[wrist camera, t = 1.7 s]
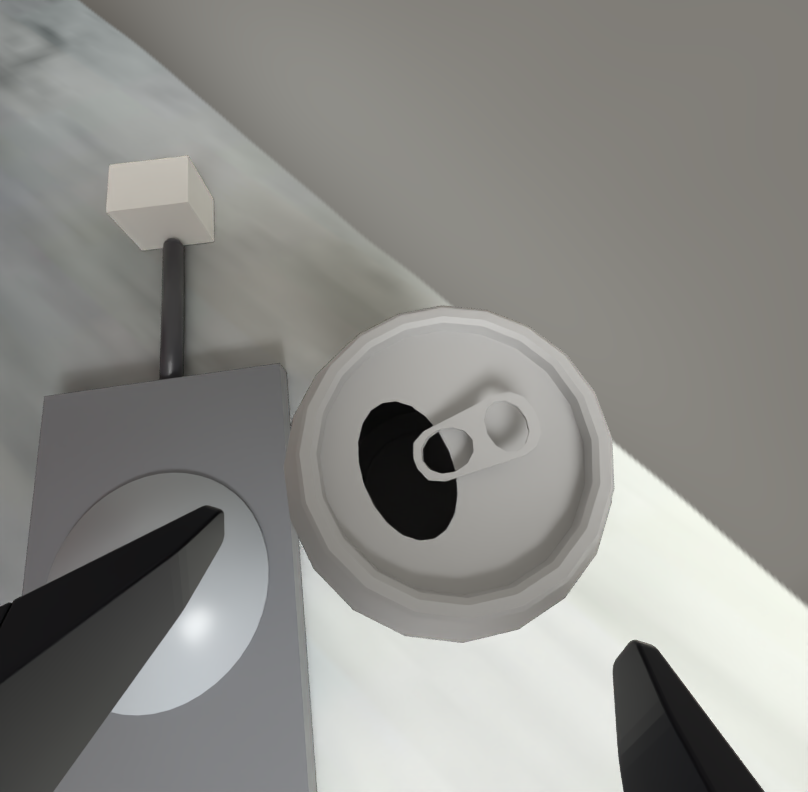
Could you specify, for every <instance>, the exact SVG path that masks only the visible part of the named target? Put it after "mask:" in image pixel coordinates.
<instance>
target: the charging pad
mask: <svg viewBox="0 0 808 792" xmlns="http://www.w3.org/2000/svg"><path fill="white" fill-rule="evenodd" d="M106 213H107V214H108V215H109V216H110V217H111V218H112V219H113V220H114V221H115V222H116V223H117V224H118V226H119V227H120V228H121V229H122V230H123V231H124V232H125V233H126V234H127V235H128V236H129V237H130V238H131V239H132V240H133V241H134V242H135V243H136V245H137V246H138V247H139V248H140V249H141V250H142V251H144V250H152V249H160V248H163V270H162V309H161V348H160V380H156V381H149V382H142V383H135V384H128V385H121V386H114V387H107V388H100V389H92V390H85V391H78V392H71V393H64V394H57V395H50V396H44V405H43V414H42V423H41V431H40V440H39V449H38V458H37V467H36V476H35V485H34V494H33V502H32V511H31V520H30V529H29V538H28V547H27V556H26V565H25V573H24V582H23V591H22V596H23V595H25V594H27V593H29V592H31V591H33V590H35V589H37V588H39V587H41V586H43V585H45V584H47V583H49V582H51V581H53V580H55V579H57V578H59V577H61V576H63V575H65V574H67V573H69V572H71V571H73V570H75V569H77V568H79V567H81V566H83V565H85V564H87V563H89V562H91V561H93V560H95V559H97V558H99V557H101V556H103V555H105V554H107V553H109V552H111V551H113V550H115V549H117V548H119V547H121V546H123V545H125V544H127V543H129V542H131V541H133V540H135V539H137V538H139V537H141V536H143V535H145V534H147V533H149V532H151V531H153V530H155V529H157V528H159V527H161V526H163V525H165V524H167V523H169V522H171V521H173V520H175V519H177V518H179V517H181V516H183V515H185V514H187V513H189V512H191V511H193V510H195V509H197V508H199V507H202V506H205V505H210V506H213V507H216V508H219V509H222V510H223V512H224V526H225V535H224V540H223V543H222V545H221V547H220V549H219V550H218V552H217V554H216V556H215V557H214V559H213V561H212V562H211V564H210V566H209V568H208V569H207V571H206V573H205V575H204V576H203V578H202V580H201V581H200V583H199V585H198V587H197V588H196V590H195V592H194V594H193V595H192V597H191V599H190V600H189V602H188V604H187V605H186V607H185V609H184V610H183V612H182V613H181V615H180V616H179V618H178V619H177V620H176V622H175V623H174V625H173V626H172V627H171V629H170V630H169V632H168V633H167V634H166V636H165V637H164V639H163V640H162V641H161V643H160V644H159V646H158V647H157V648H156V650H155V651H154V653H153V654H152V655H151V657H150V658H149V660H148V661H147V662H146V664H145V665H144V666H143V668H142V669H141V671H140V672H139V673H138V675H137V676H136V678H135V679H134V680H133V682H132V683H131V685H130V686H129V687H128V689H127V690H126V692H125V693H124V694H123V696H122V697H121V699H120V700H119V701H118V703H117V704H116V705H115V707H114V708H113V710H112V711H111V712H110V714H109V715H108V717H107V718H106V719H105V721H104V722H103V724H102V725H101V726H100V728H99V729H98V731H97V732H96V733H95V735H94V736H93V738H92V739H91V740H90V742H89V743H88V744H87V746H86V747H85V749H84V750H83V751H82V753H81V754H80V756H79V757H78V758H77V760H76V761H75V763H74V764H73V765H72V767H71V768H70V770H69V771H68V772H67V774H66V775H65V777H64V778H63V779H62V781H61V782H60V783H59V785H58V786H57V788H56V789H55V790H54V792H317V786H316V773H315V759H314V745H313V731H312V717H311V704H310V690H309V676H308V662H307V648H306V635H305V621H304V607H303V593H302V579H301V566H300V552H299V538H298V535H297V533H296V530H295V528H294V526H293V524H292V522H291V520H290V514H289V506H288V498H287V490H286V482H285V474H284V462H285V457H286V452H287V447H288V441H289V436H290V431H291V428H290V414H289V400H288V386H287V372H286V371H285V369H284V368H283V367H282V365H281V364H280V363H277V364H270V365H263V366H256V367H249V368H242V369H234V370H227V371H220V372H213V373H206V374H199V375H192V376H185V377H183V309H184V247H183V245H191V244H199V243H207V242H214V199H213V197H212V195H211V194H210V192H209V190H208V189H207V187H206V185H205V183H204V182H203V180H202V178H201V177H200V175H199V173H198V171H197V170H196V168H195V166H194V164H193V163H192V161H191V159H190V158H189V156H188V155H187V156H179V157H170V158H162V159H153V160H145V161H136V162H128V163H119V164H111V165H109V176H108V189H107V202H106Z"/></svg>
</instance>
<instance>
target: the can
mask: <svg viewBox="0 0 808 792" xmlns="http://www.w3.org/2000/svg"><path fill="white" fill-rule="evenodd" d="M284 474H285V482H286V490H287V498H288V506H289V514H290V520H291V522H292V524H293V526H294V528H295V530H296V533H297V535H298V537H299V539H300V541H301V543H302V545H303V547H304V549H305V552H306V554H307V556H308V558H309V560H310V562H311V564H312V566H313V568H314V570H315V571H316V572H317V573H318V574H319V575H320V576H321V577H322V578H323V579H324V580H325V581H326V582H327V583H328V584H329V585H330V586H331V587H332V588H333V589H334V590H335V591H336V592H337V594H338V595H339V596H340V597H341V598H342V599H343V600H344V601H345V602H346V603H347V604H348V605H349V606H350V607H351V608H352V609H353V610H355V611H357V612H359V613H361V614H363V615H365V616H367V617H368V618H370V619H372V620H374V621H376V622H378V623H380V624H382V625H384V626H386V627H388V628H390V629H392V630H394V631H396V632H398V633H400V634H402V635H404V636H410V637H418V638H426V639H435V640H443V641H451V642H460V643H464V642H468V641H472V640H477V639H481V638H485V637H489V636H493V635H497V634H502V633H506V632H510V631H514V630H518V629H520V628H521V627H523V626H524V625H526V624H527V623H529V622H530V621H532V620H533V619H535V618H536V617H538V616H539V615H541V614H542V613H543V612H545V611H546V610H548V609H549V608H551V607H552V606H554V605H555V604H557V603H558V602H560V601H561V600H563V599H564V598H565V597H566V596H567V594H568V593H569V592H570V590H571V589H572V587H573V586H574V585H575V583H576V582H577V580H578V579H579V578H580V576H581V575H582V573H583V572H584V571H585V569H586V568H587V566H588V565H589V564H590V562H591V561H592V560H593V558H594V557H595V555H596V554H597V551H598V548H599V544H600V541H601V537H602V534H603V531H604V527H605V524H606V520H607V517H608V513H609V510H610V506H611V503H612V495H613V492H614V470H613V448H612V437H611V434H610V432H609V429H608V426H607V423H606V421H605V418H604V415H603V412H602V410H601V407H600V404H599V402H598V399H597V396H596V393H595V392H594V390H593V389H592V388H591V386H590V385H589V384H588V382H587V381H586V380H585V378H584V377H583V376H582V374H581V373H580V372H579V371H578V369H577V368H576V366H575V365H574V364H573V362H572V361H571V360H570V358H569V357H568V356H567V354H565V353H564V352H563V351H561V350H560V349H559V348H557V347H556V346H555V345H553V344H552V343H551V342H549V341H548V340H547V339H545V338H544V337H543V336H541V335H540V334H539V333H537V332H536V331H534V330H533V329H532V328H531V327H529V326H527V325H525V324H522V323H520V322H517V321H514V320H512V319H509V318H507V317H504V316H501V315H499V314H496V313H494V312H491V311H488V310H483V309H472V308H462V307H451V306H438V307H432V308H427V309H422V310H416V311H411V312H406V313H401V314H397V315H395V316H393V317H391V318H389V319H388V320H386V321H384V322H382V323H380V324H378V325H376V326H374V327H372V328H370V329H368V330H366V331H364V332H362V333H360V334H359V335H358V336H356V337H355V338H354V339H353V340H352V341H351V342H349V343H348V344H347V345H346V346H345V347H344V348H343V349H342V350H341V351H340V352H339V353H338V354H337V355H336V356H335V357H334V358H333V359H332V360H331V361H330V362H329V363H328V364H327V365H326V366H325V367H324V368H323V369H322V370H320V371H319V372H318V373H317V374H316V376H315V378H314V380H313V381H312V383H311V385H310V387H309V389H308V391H307V393H306V394H305V396H304V398H303V400H302V402H301V404H300V405H299V407H298V409H297V411H296V413H295V415H294V416H293V420H292V426H291V431H290V436H289V441H288V447H287V452H286V457H285V462H284Z"/></svg>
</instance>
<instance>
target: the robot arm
mask: <svg viewBox="0 0 808 792" xmlns="http://www.w3.org/2000/svg"><path fill="white" fill-rule="evenodd" d="M224 535H225V526H224V512H223V510H222V509H219V508H216V507H213V506H210V505H205V506H202V507H199V508H197V509H195V510H193V511H191V512H189V513H187V514H185V515H183V516H181V517H179V518H177V519H175V520H173V521H171V522H169V523H167V524H165V525H163V526H161V527H159V528H157V529H155V530H153V531H151V532H149V533H147V534H145V535H143V536H141V537H139V538H137V539H135V540H133V541H131V542H129V543H127V544H125V545H123V546H121V547H119V548H117V549H115V550H113V551H111V552H109V553H107V554H105V555H103V556H101V557H99V558H97V559H95V560H93V561H91V562H89V563H87V564H85V565H83V566H81V567H79V568H77V569H75V570H73V571H71V572H69V573H67V574H65V575H63V576H61V577H59V578H57V579H55V580H53V581H51V582H49V583H47V584H45V585H43V586H41V587H39V588H37V589H35V590H33V591H31V592H29V593H27V594H25V595H23V596H21V597H19V598H17V599H15V600H14V601H13V603H7V604H5V605H3V606H1V607H0V792H54V790H55V789H56V788H57V786H58V785H59V783H60V782H61V781H62V779H63V778H64V777H65V775H66V774H67V772H68V771H69V770H70V768H71V767H72V765H73V764H74V763H75V761H76V760H77V758H78V757H79V756H80V754H81V753H82V751H83V750H84V749H85V747H86V746H87V744H88V743H89V742H90V740H91V739H92V738H93V736H94V735H95V733H96V732H97V731H98V729H99V728H100V726H101V725H102V724H103V722H104V721H105V719H106V718H107V717H108V715H109V714H110V712H111V711H112V710H113V708H114V707H115V705H116V704H117V703H118V701H119V700H120V699H121V697H122V696H123V694H124V693H125V692H126V690H127V689H128V687H129V686H130V685H131V683H132V682H133V680H134V679H135V678H136V676H137V675H138V673H139V672H140V671H141V669H142V668H143V666H144V665H145V664H146V662H147V661H148V660H149V658H150V657H151V655H152V654H153V653H154V651H155V650H156V648H157V647H158V646H159V644H160V643H161V641H162V640H163V639H164V637H165V636H166V634H167V633H168V632H169V630H170V629H171V627H172V626H173V625H174V623H175V622H176V620H177V619H178V618H179V616H180V615H181V613H182V612H183V610H184V609H185V607H186V605H187V604H188V602H189V600H190V599H191V597H192V595H193V594H194V592H195V590H196V588H197V587H198V585H199V583H200V581H201V580H202V578H203V576H204V575H205V573H206V571H207V569H208V568H209V566H210V564H211V562H212V561H213V559H214V557H215V556H216V554H217V552H218V550H219V549H220V547H221V545H222V543H223V540H224ZM613 685H614V701H615V716H616V732H617V746H618V757H619V764H620V772H621V778H622V784H623V791H624V792H764V790H763V789H762V788H761V786H760V785H759V784H758V782H757V781H756V780H755V778H754V777H753V776H752V774H751V773H750V772H749V770H748V769H747V768H746V766H745V765H744V764H743V762H742V761H741V760H740V758H739V757H738V756H737V754H736V753H735V752H734V750H733V749H732V748H731V746H730V745H729V744H728V742H727V741H726V740H725V738H724V737H723V736H722V734H721V733H720V732H719V730H718V729H717V728H716V726H715V725H714V724H713V722H712V721H711V720H710V718H709V717H708V716H707V714H706V713H705V712H704V710H703V709H702V708H701V706H700V705H699V704H698V702H697V701H696V700H695V698H694V697H693V696H692V694H691V693H690V692H689V690H688V689H687V688H686V686H685V685H684V684H683V682H682V681H681V680H680V678H679V677H678V676H677V674H676V673H675V672H674V670H673V669H672V668H671V666H670V665H669V664H668V662H667V661H666V660H665V658H664V657H663V656H662V654H661V653H660V652H659V650H658V649H657V648H656V647H654V646H653V645H651V644H648V643H645V642H641V641H638V640H632V641H630V642H629V643H628V645H627V646H626V647H625V648H624V650H623V651H622V652H621V654H620V655H619V656H618V657H617V659H616V660H615V662H614V665H613Z"/></svg>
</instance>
